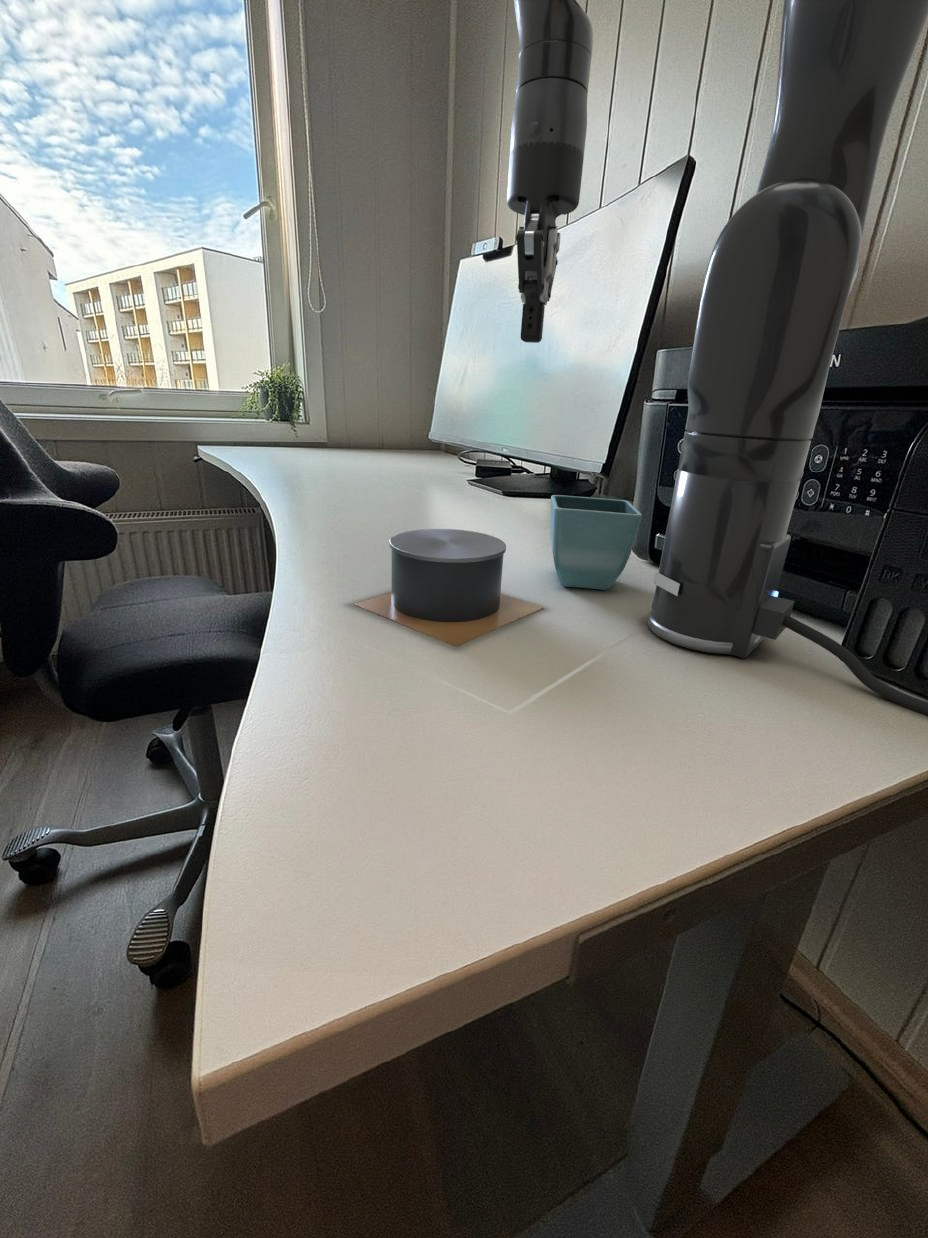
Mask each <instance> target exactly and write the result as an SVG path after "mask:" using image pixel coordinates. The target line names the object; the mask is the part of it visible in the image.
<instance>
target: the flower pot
mask: <svg viewBox="0 0 928 1238" xmlns="http://www.w3.org/2000/svg"><path fill="white" fill-rule="evenodd" d="M642 517H643V514H642V512H640V511H639V510H638V509H637V507H635V506H634V505H633V504H632V503H631V502H630V501H628V500H625V499H613V498H603V497H602V498H600V497H589V496H577V495H576V496H574V495H562V494H552V495H551V496H550V520H549V521H550V525H549V528H550V529H549V536H550V547H551V553H552V558H553V564H554V565H553V566H554V569H555V572H556V576H557V578H558V581H559V584H560V585H561V586H562V587H566V588H578V589H579V588H581V589H591V590H600V591H606V590H609V589H610V588H611V587H612V585H614V583H615V582H616V581H617V580H618V578H619V577H620V576H621V575H622V573H623V571H624V570H625V568H626V566H627V563H628V562H629V559H630V557H631V553H632V551H633V547H634V545H635V540H636V538H637V535H638V531H639V528H640V524H641V520H642Z"/></svg>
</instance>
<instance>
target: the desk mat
mask: <svg viewBox="0 0 928 1238" xmlns="http://www.w3.org/2000/svg"><path fill="white" fill-rule="evenodd" d="M353 606H356V607H358V608H359V609H362V610H365V611H368V612H369V613H372V614H375V615H377V616H379V617H382V618H385V619H387V620H389V621H391V622H395V623H397V624H399V625H402V626H404V627H407V628H409V629H411V630H414V631H416V632H418V633H422V634H424V635H426V636H429V637H431V638H433V639H436V640H438V641H441V642H443V643H446V644H448V645H451V646H452V647H455V648H456V647H459V646H461V645H465V644H466V643H468V642H471V641H473V640H475V639H477V638H480V637H483V636H484V635H486V634H487V635H488V634H489V633H491V632H494V631H496V630H497V629H500V628H502V627H505V626H507V625H510V624H511V623H513V622H516V621H518V620H520V619H523V618H525V617H527V616H530V615H532V614H535V613H537V612H540V611H541V610H543V609H544V607H543V606H541V605H537V604H534V603H530V602H527V601H524V600H522V599H517V598H514V597H511V596H508V595H505V594H502V593H500V606H499V608H498V610H497V611H496V612H495V613H493V614H492V615H490V616H487V617H485V618H481V619H477V620H472V621H464V622H438V621H429V620H423V619H419V618H415V617H411V616H409V615H406V614H404V613H402V612H400V611H398V610H397V609H396V608H395V607H394V606H393V605H392V592H389V593H387V594H383V595H380V596H376V597H372V598H369V599H366V600H362V601H360V602H356V603H353Z"/></svg>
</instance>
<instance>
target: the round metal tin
mask: <svg viewBox="0 0 928 1238" xmlns="http://www.w3.org/2000/svg"><path fill="white" fill-rule="evenodd" d="M388 543H389V545H388V546H389V548H390V549H391V593H392V605H393V606H394V607H395V608H396V609H397V610H398V611H400V612H402V613H404V614H406V615H409V616H411V617H415V618H419V619H423V620H429V621H438V622H464V621H472V620H477V619H481V618H485V617H487V616H490V615H492V614H493V613H495V612H496V611H497V610H498V608H499V606H500V594H502V592H501V590H502V579H503V567H504V554H505V553H506V551H507V544H506V543H505V541H503V540H502V539H500V538H498V537H495V536H493V535H490V534H486V533H483V532H477V531H472V530H464V529H453V528H424V529H413V530H408V531H403V532H399V533H396V534H395V535H393V536H391V538H390V539H389V542H388Z"/></svg>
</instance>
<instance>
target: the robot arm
mask: <svg viewBox="0 0 928 1238" xmlns="http://www.w3.org/2000/svg"><path fill="white" fill-rule="evenodd" d="M513 4H514V14H515V21H516V28H517V33H518V42H519V44H518V45H519V46H518V57H517V58H518V59H517V60H518V61H517V73H516V87H515V101H514V108H513V112H512V118H511V129H510V141H509V142H510V144H509V159H508V172H507V173H508V175H507V188H506V189H507V190H506V192H507V193H506V204H507V205H506V206H507V207H508V208H509V210H511V211H513V212H514V213H516V214H519V215H522V216H523V226H519V227H518V230H517V233H516V235H515V241H516V251H517V252H516V253H517V254H516V255H517V273H518V275H517V276H518V286H517V289H518V292H519V294H520V300H521V303H522V313H521V326H520V340H521V341H522V342H524V343H530V344H532V343H533V344H535V343H536V344H539V343H540V342H541V341H542V339H543V331H544V320H545V308H546V306H547V304H548V302H550V299H552V298H551V297H552V289H553V286H554V279H555V275H556V271H557V266H558V262H559V261H558V257H557V255H558V253H559V252H560V245H561V232H558V231H559V229H558V227H559V226H557V223H556V221H557V220H556V219H557V218H558V217H560V216H562V215H564V216H566V215H569V214H571V213H573V212H574V211H575V210H577V208H578V206H579V204H580V197H581V188H582V178H583V168H584V159H585V150H586V149H585V148H586V141H587V140H586V139H587V130H588V128H587V127H588V96H589V95H588V93H589V85H590V84H589V83H590V75H591V65H592V64H591V63H592V57H593V56H592V54H593V45H594V31H593V25H592V22H591V19H590V17H589V15H588V14H587V13H586V12H585V10H584V9H583V7H581V5H580V3H578V1H577V0H513ZM782 6H783V7H782V16H781V27H780V37H779V38H780V39H779V51H778V66H777V80H776V92H775V93H776V94H775V106H774V112H773V113H774V115H773V122H772V127H771V134H770V139H769V144H768V147H767V152H766V156H765V160H764V165H763V168H762V172H761V176H760V179H759V183H758V186H757V190H756V193H755V194H754V195H753V196H751V197H749V199H747V200H746V202H744V203H743V204H742V205H741V206H740V207H739V208H738V209H737V210H736V211H735V212H734V214H732V216H731V217H730V218H729V220H728V221H727V223H726V224H725V225H724V227H723V228H722V230H721V232H720V233H719V235H718V236H717V238H716V241H715V244H714V246H713V248H712V251H711V254H710V256H709V259H708V264H707V267H706V271H705V275H704V279H703V280H704V281H703V284H702V289H701V297H700V301H699V309H698V315H697V321H696V326H695V332H694V340H693V346H692V352H691V359H690V364H689V371H688V377H687V378H688V380H687V401H688V402H687V403H688V407H687V408H688V409H687V417H686V423H685V431H684V435H683V439H682V445H681V450H680V454H679V460H678V466H677V471H676V476H675V481H674V486H673V493H672V498H671V503H670V507H669V513H668V519H667V525H666V530H665V535H664V540H663V546H662V551H661V557H660V562H659V568H658V572H657V571H655V573H654V578H653V585H655V590H654V594H653V595H654V596H653V600H652V604H651V609H650V611H649V615H648V621H647V625H648V628H649V630H651V632H652V633H654V634H655V635H656V636H657V637H659V638H661V639H663V640H664V641H667V642H668V643H671V644H674V645H676V646H679V647H682V648H686V649H690V650H694V651H698V652H704V653H711V654H722V655H730V656H735V657H738V658H741V659H745V658H748V656H749V655H750V654H751V653H752V652H753V651H754V650H755V649H757V648H758V647H759V644H760V643H761V642H762V641H763V640H765V638H767V639H771V640H774V641H775V640H776V639H777V638H778V637H779V636H780V635H781V634H782V633H783V632H784V631H785V629H788V630H790V631H792V632H794V633H796V634H798V635H800V636H802V637H804V638H805V639H806V640H808V641H811V642H813V643H814V644H816V645H818V646H820V647H821V648H823V649H825V650H826V651H828V652H829V653H831V654H832V655H834V657H836V658H838V659H839V660H840V661H841V662H843V664H844V665H845V666H846V667H847V668H848V669H849V671H850V672H851V673H852V674H853V675H854V676H855V677H856V678H857V680H859V682H860V683H861V684H862V685H864V686H865V687H866V688H868V689H869V690H870V691H872V692H874V693H876V694H877V695H879V696H881V697H882V698H885V699H886V700H888V701H890V702H893V703H894V704H896V705H900V706H902V707H904V708H906V709H909V710H911V711H914V712H917V713H919V714H923V715H926V716H928V701H926V700H923V699H920V698H917V697H915V696H912V695H910V694H907V693H905V692H903V691H900V690H898V689H896V688H894V687H892V686H891V685H889V684H887V683H885V682H883V681H881V680H880V679H879V678H877V677H875V676H874V675H873V674H872V673H871V672H870V671H869V670H868V669H867V668H866V667H865V665H864V664H863V663H862V662H861V661H860V660H859V658H858V657H856V656H855V654H853V653H852V652H851V651H850V650H849V649H848V648H846V647H845V646H843V645H842V644H840V643H839V642H837V641H836V640H834V639H832V638H831V637H829V636H828V635H826V634H824V633H822V632H821V631H819V630H817V629H815V628H813V627H811V626H809V625H807V624H805V623H804V622H802V621H799V620H798V619H796V618H795V617H793V616H791V615H792V612H793V608H794V606H795V605H794V604H795V600H792V599H788V598H783V597H779V591H778V589H779V584H780V582H781V581H780V580H781V577H782V573H783V570H784V566H785V562H786V559H787V555H788V551H789V548H790V544H791V540H792V536H791V534H788V529H789V525H790V521H791V518H792V514H793V510H794V507H795V503H796V499H797V497H798V492H799V488H800V484H801V480H802V477H803V473H804V469H805V466H806V462H807V459H808V454H809V451H810V446H811V443H812V441H811V440H812V439H813V436H814V433H815V430H816V425H817V421H818V418H819V415H820V411H821V407H822V402H823V398H824V393H825V388H826V385H827V379H828V376H829V371H830V366H831V363H832V358H833V354H834V351H835V347H836V344H837V340H838V337H839V334H840V329H841V325H842V321H843V317H844V314H845V310H846V306H847V303H848V300H849V299H848V298H849V296H850V293H851V292H852V290H853V288H854V285H855V283H856V280H857V278H858V275H859V270H860V264H861V255H862V254H861V253H862V243H863V238H864V234H865V233H864V232H865V228H866V227H865V226H866V221H867V217H868V211H869V205H870V201H871V196H872V192H873V188H874V187H873V186H874V182H875V179H876V178H875V177H876V174H877V169H878V165H879V160H880V155H881V152H882V147H883V144H884V139H885V136H886V132H887V128H888V125H889V123H890V119H891V116H892V112H893V109H894V105H895V104H896V101H897V98H898V96H899V93H900V90H901V88H902V86H903V85H902V84H903V82H904V79H905V77H906V75H907V73H908V70H909V67H910V65H911V62H912V59H913V56H914V54H915V51H916V49H917V46H918V44H919V41H920V39H921V37H922V34H923V31H924V29H925V26H926V23H927V21H928V0H783V5H782Z"/></svg>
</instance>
